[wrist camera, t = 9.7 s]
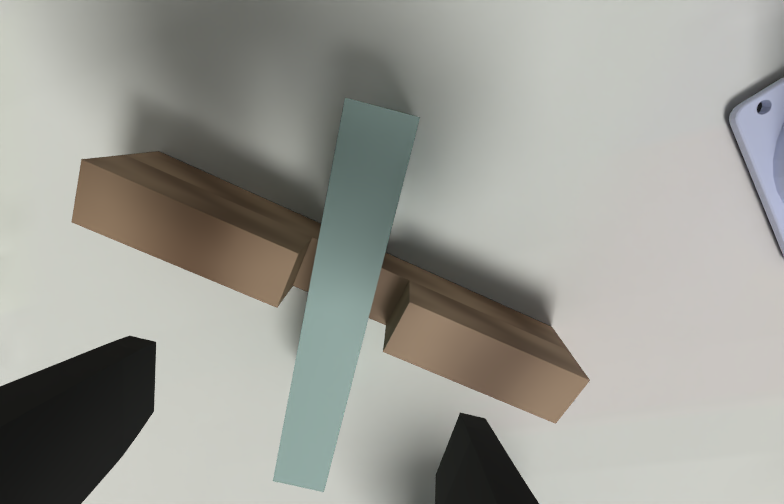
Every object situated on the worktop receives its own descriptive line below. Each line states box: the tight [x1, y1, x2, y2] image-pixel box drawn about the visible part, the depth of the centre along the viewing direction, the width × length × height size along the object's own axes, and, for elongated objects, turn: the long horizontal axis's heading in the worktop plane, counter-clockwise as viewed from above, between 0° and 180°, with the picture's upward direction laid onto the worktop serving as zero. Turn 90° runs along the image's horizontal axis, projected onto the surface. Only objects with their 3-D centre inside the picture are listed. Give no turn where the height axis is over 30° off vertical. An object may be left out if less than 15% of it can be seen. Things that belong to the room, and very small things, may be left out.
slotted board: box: [72, 151, 590, 424], centre depth 16 cm, size 20×2×4 cm, turn 65°
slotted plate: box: [273, 98, 420, 492], centre depth 15 cm, size 14×2×6 cm, turn 166°
